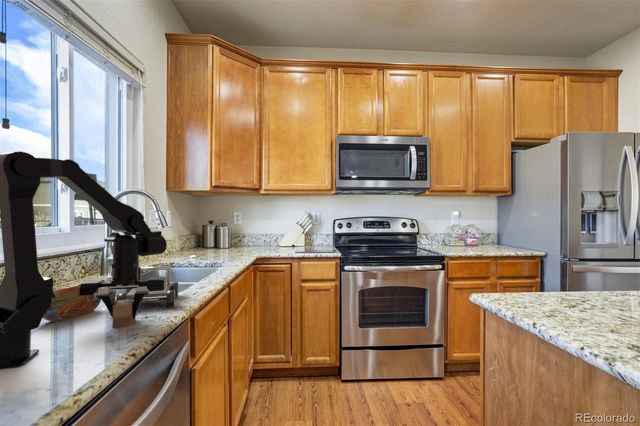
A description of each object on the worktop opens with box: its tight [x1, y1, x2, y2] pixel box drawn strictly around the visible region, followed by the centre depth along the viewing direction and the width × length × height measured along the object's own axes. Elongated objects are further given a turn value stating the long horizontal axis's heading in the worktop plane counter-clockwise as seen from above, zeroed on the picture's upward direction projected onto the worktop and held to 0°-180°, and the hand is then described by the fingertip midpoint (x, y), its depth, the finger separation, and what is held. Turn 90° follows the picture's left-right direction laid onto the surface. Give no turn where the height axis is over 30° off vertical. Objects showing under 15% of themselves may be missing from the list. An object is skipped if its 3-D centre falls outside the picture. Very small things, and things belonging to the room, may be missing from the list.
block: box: [112, 299, 136, 329], centre depth 79 cm, size 5×4×6 cm
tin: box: [42, 284, 102, 323], centre depth 84 cm, size 15×3×8 cm, turn 163°
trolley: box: [115, 265, 179, 308], centre depth 98 cm, size 17×15×11 cm
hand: (124, 318), depth 79 cm, fingers closed on block, 4 cm apart
